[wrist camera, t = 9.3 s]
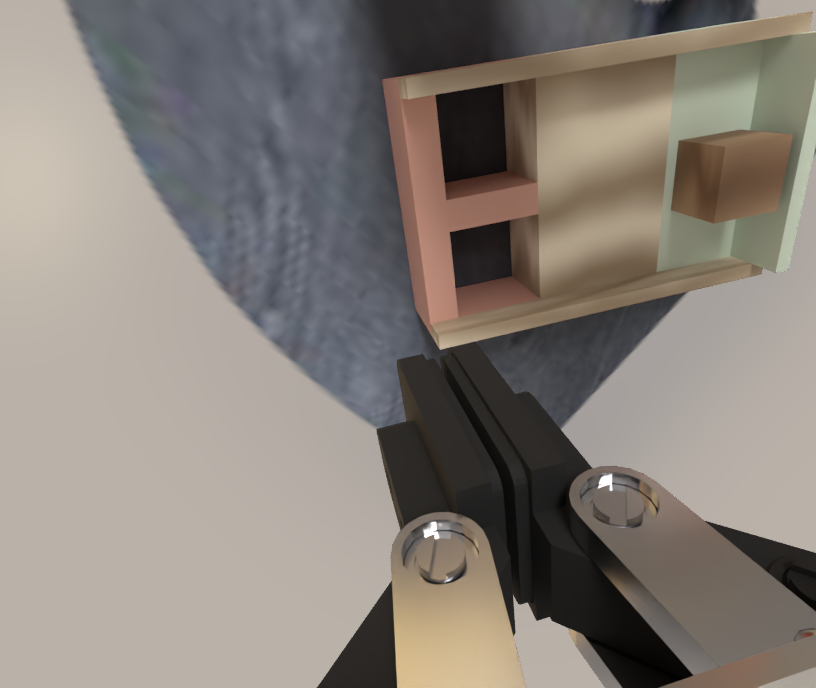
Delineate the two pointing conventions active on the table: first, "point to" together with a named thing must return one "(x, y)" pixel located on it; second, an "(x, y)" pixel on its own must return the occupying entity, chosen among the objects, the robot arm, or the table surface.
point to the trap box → (602, 173)
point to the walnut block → (730, 174)
